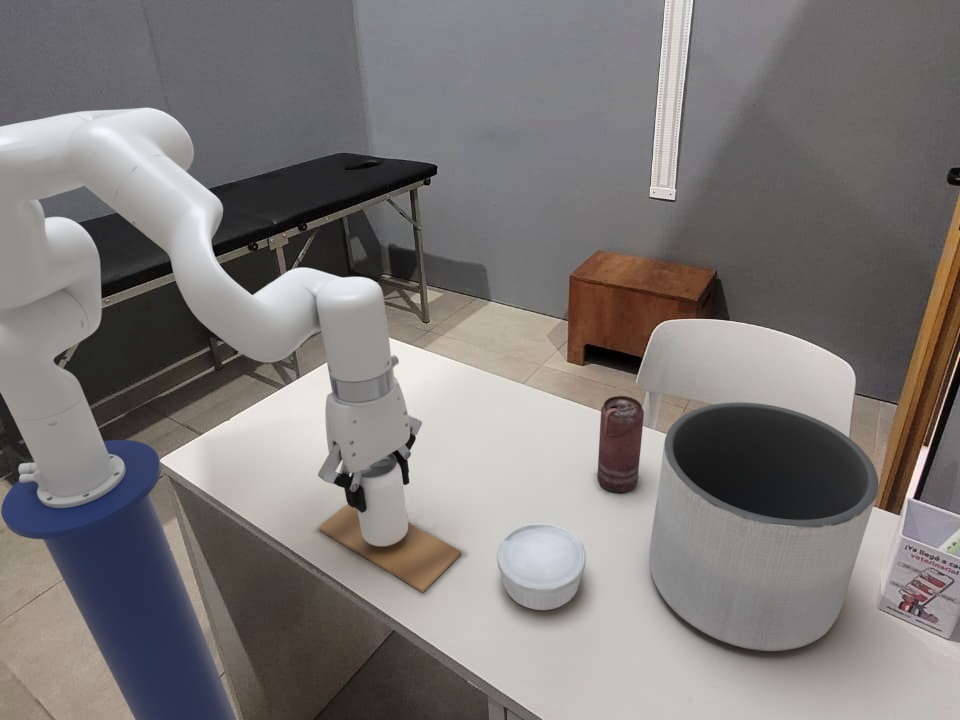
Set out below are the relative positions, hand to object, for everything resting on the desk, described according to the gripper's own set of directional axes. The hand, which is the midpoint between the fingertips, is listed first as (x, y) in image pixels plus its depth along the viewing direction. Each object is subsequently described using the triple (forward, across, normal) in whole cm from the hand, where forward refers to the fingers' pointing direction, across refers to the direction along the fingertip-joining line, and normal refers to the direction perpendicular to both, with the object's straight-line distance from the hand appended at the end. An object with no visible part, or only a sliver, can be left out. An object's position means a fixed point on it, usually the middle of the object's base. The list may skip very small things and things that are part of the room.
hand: (379, 492), depth 87 cm
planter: (+9, -26, +39) cm, 48 cm away
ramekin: (+9, -9, +21) cm, 24 cm away
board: (+9, 0, 0) cm, 9 cm away
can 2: (+9, -32, +16) cm, 37 cm away
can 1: (+7, 0, 0) cm, 7 cm away
